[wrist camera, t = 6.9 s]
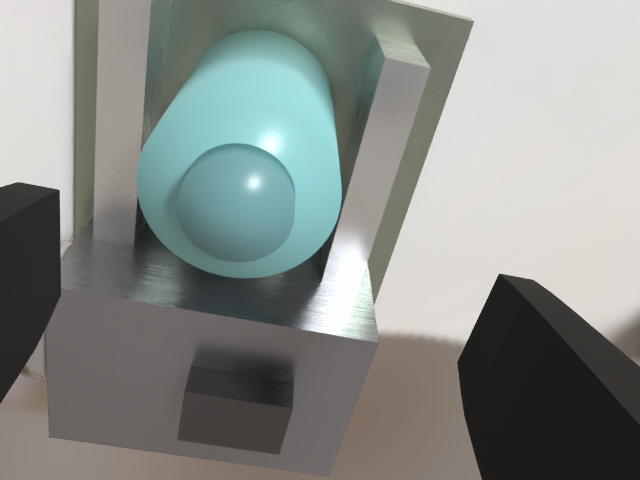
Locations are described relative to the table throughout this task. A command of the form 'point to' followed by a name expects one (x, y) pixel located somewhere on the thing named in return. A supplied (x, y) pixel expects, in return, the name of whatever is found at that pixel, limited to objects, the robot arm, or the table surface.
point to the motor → (220, 291)
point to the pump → (245, 159)
